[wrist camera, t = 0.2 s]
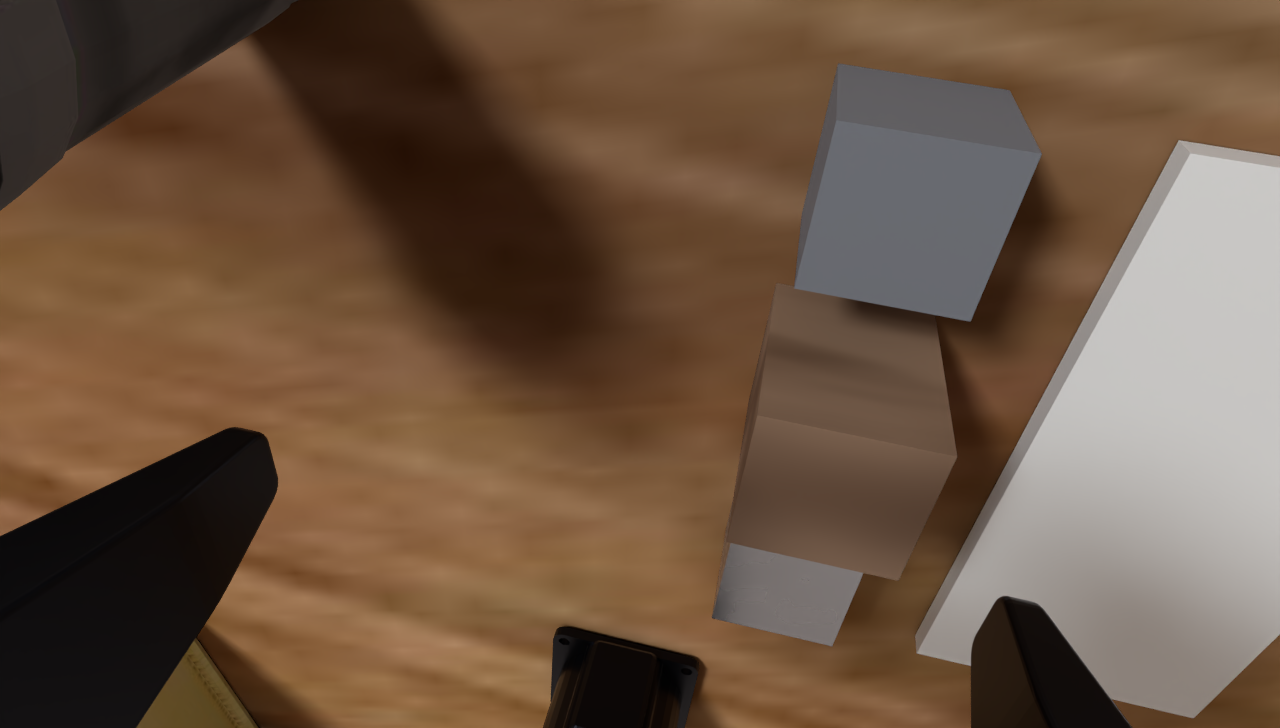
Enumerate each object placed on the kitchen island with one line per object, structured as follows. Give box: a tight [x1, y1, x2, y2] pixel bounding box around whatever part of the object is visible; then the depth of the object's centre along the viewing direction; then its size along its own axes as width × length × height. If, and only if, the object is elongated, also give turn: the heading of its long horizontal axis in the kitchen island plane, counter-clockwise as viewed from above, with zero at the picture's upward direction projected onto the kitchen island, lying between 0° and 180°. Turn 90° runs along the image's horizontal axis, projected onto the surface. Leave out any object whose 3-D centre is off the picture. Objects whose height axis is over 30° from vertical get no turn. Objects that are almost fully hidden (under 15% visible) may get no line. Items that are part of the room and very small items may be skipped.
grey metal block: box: [712, 502, 863, 646], centre depth 26 cm, size 4×4×4 cm
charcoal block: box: [794, 64, 1042, 322], centre depth 18 cm, size 4×4×4 cm
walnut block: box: [726, 283, 957, 581], centre depth 22 cm, size 4×4×6 cm
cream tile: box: [915, 140, 1280, 718], centre depth 24 cm, size 20×10×1 cm, turn 175°
